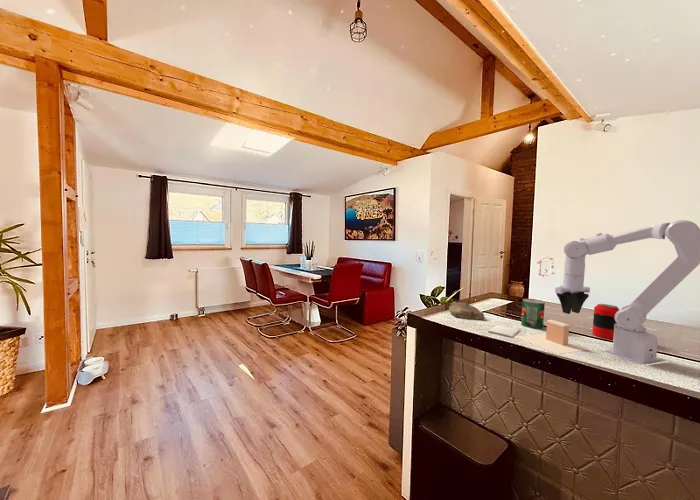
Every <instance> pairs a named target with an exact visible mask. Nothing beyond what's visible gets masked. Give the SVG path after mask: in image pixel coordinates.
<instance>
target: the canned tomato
mask: <svg viewBox="0 0 700 500" xmlns="http://www.w3.org/2000/svg"><path fill="white" fill-rule="evenodd" d="M521 304H522V305H521V320H520V321H521V323H520V325H521V326H523V327H526V328H529V329H534V330H540V329H541V330H542V329H544V320H545V318H544V317H545V304H546V303H545V301H544V300H539V299H534V298H523V299H522V303H521Z"/></svg>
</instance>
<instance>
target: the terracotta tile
mask: <svg viewBox="0 0 700 500" xmlns="http://www.w3.org/2000/svg"><path fill="white" fill-rule="evenodd" d="M569 332H570V324H567V323H565V322H561V321H557V320H554V319H547V320H546V333H545V335H546V340H549V341H552V342H555V343H557V344H560V345H568V343H569V334H570V333H569Z"/></svg>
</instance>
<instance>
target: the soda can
mask: <svg viewBox="0 0 700 500" xmlns="http://www.w3.org/2000/svg"><path fill="white" fill-rule="evenodd" d="M619 310H620V308H619V307H618V306H616V305H613V304H605V303H598V304H596V305H595V306H594V308H593V319H592V320H593V321H592V334H593V336H595V337H597V338H601V339H604V340H605V339H606V340H610V339H611V340H612V341H613V336H614V324H616V321H615V314H616V312H617V311H619Z"/></svg>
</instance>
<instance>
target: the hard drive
mask: <svg viewBox="0 0 700 500" xmlns="http://www.w3.org/2000/svg"><path fill="white" fill-rule="evenodd" d="M519 332H521V328H516V327H512V326H507V325H503V324H498V325H497V324H496V325H495V326H494V327H492V328H491V329H488V330H487V333H490V334H493V335H497V336H502V337H507V338H511V339H512V338H514V337H515V336H517V334H518V333H519Z"/></svg>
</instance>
